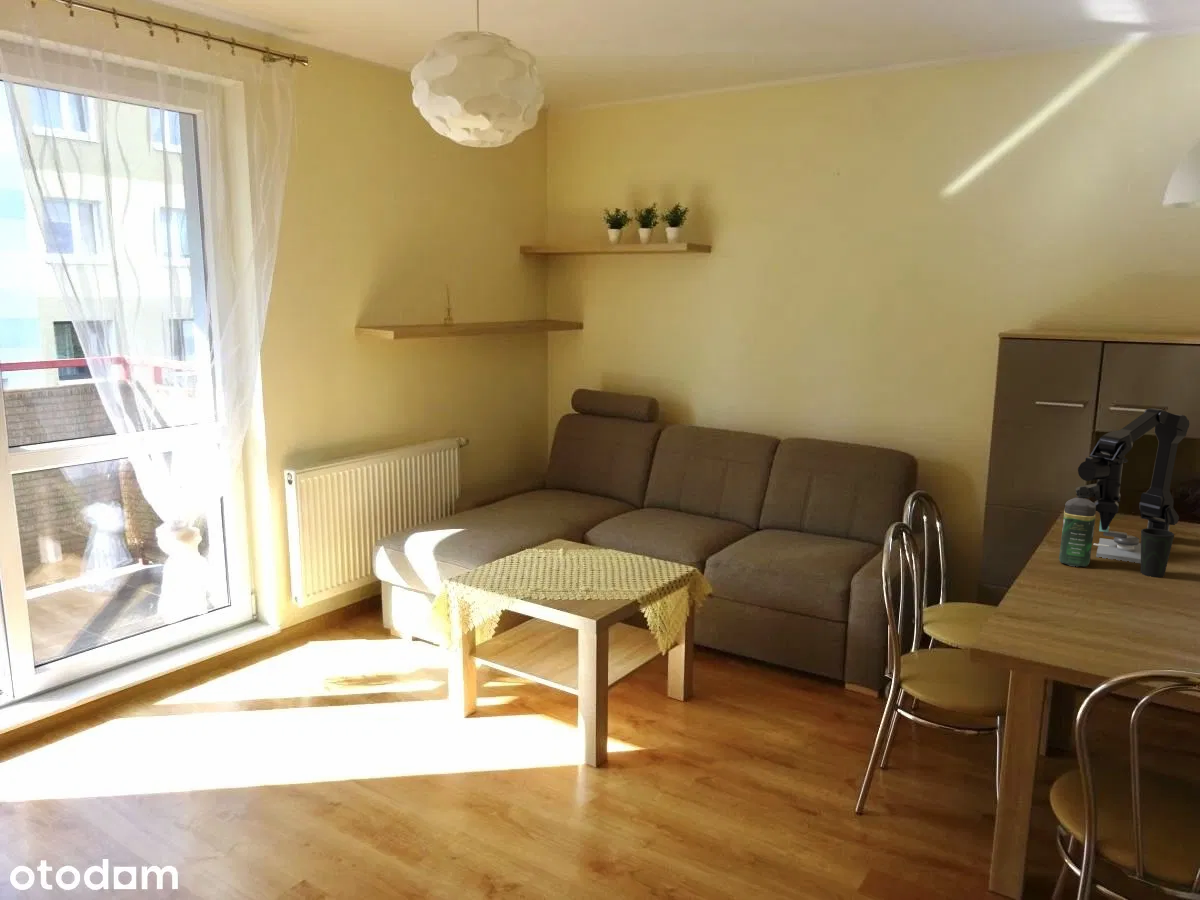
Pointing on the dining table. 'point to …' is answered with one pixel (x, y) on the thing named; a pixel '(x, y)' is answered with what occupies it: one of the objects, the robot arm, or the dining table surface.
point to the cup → (1155, 551)
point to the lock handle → (1120, 537)
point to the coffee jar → (1077, 532)
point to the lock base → (1118, 551)
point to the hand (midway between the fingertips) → (1104, 528)
